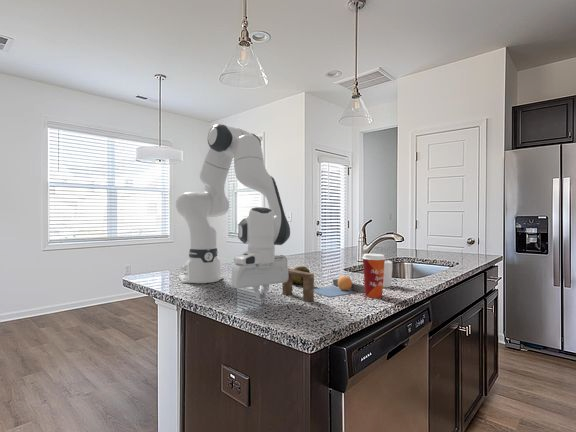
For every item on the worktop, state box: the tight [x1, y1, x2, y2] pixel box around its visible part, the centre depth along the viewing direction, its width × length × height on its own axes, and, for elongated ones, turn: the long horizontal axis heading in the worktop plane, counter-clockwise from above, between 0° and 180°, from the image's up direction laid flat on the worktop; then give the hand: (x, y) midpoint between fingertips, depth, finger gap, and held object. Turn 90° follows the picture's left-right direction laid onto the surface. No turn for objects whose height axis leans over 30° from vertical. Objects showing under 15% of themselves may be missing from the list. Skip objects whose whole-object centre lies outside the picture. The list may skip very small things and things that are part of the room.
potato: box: [292, 266, 311, 285], centre depth 144 cm, size 8×13×8 cm, turn 13°
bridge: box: [282, 268, 315, 303], centre depth 122 cm, size 3×14×9 cm, turn 35°
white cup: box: [383, 260, 394, 288], centre depth 142 cm, size 8×8×10 cm
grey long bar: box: [332, 278, 365, 294], centre depth 136 cm, size 18×2×2 cm, turn 35°
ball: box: [337, 275, 352, 291], centre depth 133 cm, size 6×6×6 cm
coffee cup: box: [362, 253, 386, 299], centre depth 124 cm, size 8×8×15 cm
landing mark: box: [314, 285, 357, 298], centre depth 131 cm, size 13×13×1 cm
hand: (261, 298), depth 113 cm, fingers closed
